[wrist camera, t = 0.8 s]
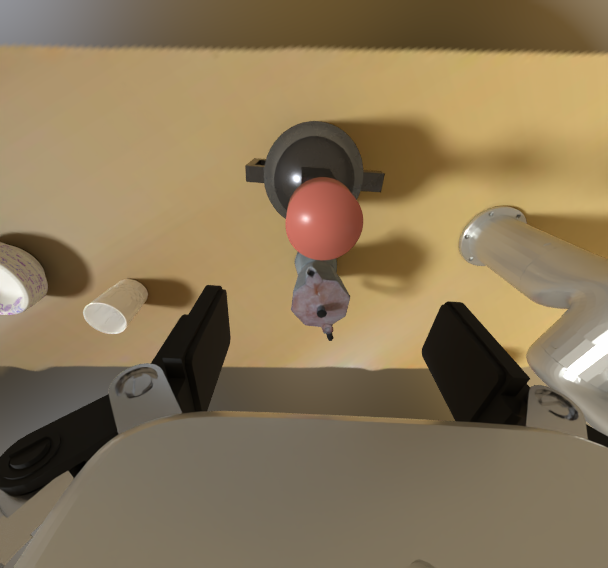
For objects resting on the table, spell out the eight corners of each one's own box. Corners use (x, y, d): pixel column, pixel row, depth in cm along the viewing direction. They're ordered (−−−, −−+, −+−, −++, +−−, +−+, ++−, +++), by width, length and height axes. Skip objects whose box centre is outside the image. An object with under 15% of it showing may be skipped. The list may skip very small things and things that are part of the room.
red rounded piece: (346, 165, 26) (370, 187, 17) (338, 219, 29) (355, 262, 20) (291, 162, 26) (286, 182, 17) (289, 216, 29) (284, 258, 20)
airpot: (371, 126, 43) (429, 129, 23) (357, 205, 50) (394, 258, 30) (258, 117, 42) (221, 112, 23) (259, 199, 49) (232, 249, 29)
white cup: (109, 275, 57) (75, 302, 49) (145, 276, 58) (118, 303, 49) (121, 304, 62) (92, 333, 53) (155, 305, 62) (132, 334, 53)
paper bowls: (27, 303, 61) (-7, 326, 54) (-40, 248, 54) (-89, 266, 47) (75, 281, 58) (46, 302, 51) (11, 220, 51) (-33, 235, 44)
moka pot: (327, 221, 52) (341, 270, 34) (347, 283, 59) (366, 348, 42) (283, 237, 53) (274, 290, 36) (307, 295, 61) (310, 362, 44)
